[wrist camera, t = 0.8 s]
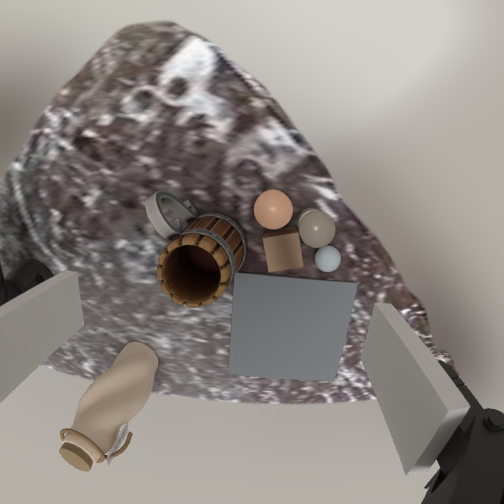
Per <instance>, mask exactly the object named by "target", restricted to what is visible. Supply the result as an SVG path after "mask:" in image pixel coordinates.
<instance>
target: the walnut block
mask: <svg viewBox="0 0 504 504" xmlns="http://www.w3.org/2000/svg"><path fill="white" fill-rule="evenodd" d="M263 243H264V249H265V255H266V260H267V266H268V271H269V272H275V271H281V270H287V269H293V268H300V267H303V260H302V253H301V246H300V239H299V233H298V230H297V228H296V227H289V228H283V229H277V230H271V231H265V232H263Z"/></svg>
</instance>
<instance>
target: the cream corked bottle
mask: <svg viewBox="0 0 504 504" xmlns="http://www.w3.org/2000/svg"><path fill="white" fill-rule="evenodd" d="M157 367H158V358H157V355H156V354H155V352H154V351H153V350H152V349H151V348H150V347H149V346H147V345H145V344H143V343H141V342H130V343H128V344H127V345H126V346H125V347H124V348H123V349H122V351H121V352H120V353H119V355H118V356H117V358H116V359H115V361H114V363H113V365H112V366H111V368H110V369H108V370H107V371H106V372H104V373H103V374H102V375H100V376H99V377H98V378H97V379H96V380H95V381H94V382H93V383H92V384H91V385H90V387H89V388H88V389H87V391H86V392H85V393H84V395H83V396H82V398H81V399H80V402H79V405H78V409H77V412H76V416H75V419H74V422H73V426H72V427H71V428H70V429H62V430H61V432H60V436H61V438H62V447H61V448H60V450H59V452H60V454H61V456H62V457H63V458H64V459H65V460H66V461H67V462H68V463H69V464H71V465H72V466H74V467H75V468H77V469H79V470H82V471H89V470H90V469H91V467H92V466H94V465H95V464H96V463H100V462H103V461H104V459H108V465H109V464H110V462H111V461H112V459H113V457H115V456H118V455H119V454H121V453H122V452H123V451H124V450H125V449H126V448H127V446H128V445H129V443H130V440H131V437H132V433H131V432H129V433H128V436H127V439H126V442H125V444H124V445H123V446H122V448H121V449H119V450H118V448H119V446H120V445H121V442H122V441H123V439H124V438H125V436H126V434H127V428H128V421H129V420H131V419H132V418H133V417H134V416H135V415H136V414H137V413H138V412H139V411H140V410H141V409H142V407H143V406H144V405H145V403H146V401H147V399H148V397H149V395H150V393H151V390H152V387H153V383H154V376H155V372H156V369H157ZM125 423H126V425H125V426H124V428H123V430H122V431H121V433H120V435H119V437H118V434H119V431H120V427H121V426H122V425H123V424H125ZM66 432H68V433H67V434H66V436H65V437H64V433H66ZM117 437H118V438H117ZM111 448H112V449H111ZM110 449H111V450H110ZM109 450H110V452H109V454H108V455H104V454H105V453H107V452H108V451H109ZM117 450H118V451H117ZM100 457H101V458H100ZM99 458H100V459H99Z"/></svg>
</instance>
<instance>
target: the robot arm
mask: <svg viewBox="0 0 504 504" xmlns="http://www.w3.org/2000/svg"><path fill="white" fill-rule="evenodd" d="M83 326H84V319H83V313H82V306H81V299H80V291H79V283H78V274H77V272H73V271H67V270H65V271H63V272H61V273H59V274H57V275H55V276H53V274H52V273H51V272H50V270H49V269H48V268H47V267H46V266H45V265H44V264H43V263H41V262H40V261H38V260H35V259H27V260H24V261H22V262H20V263H18V264H17V265H16V266H15V267H14V268H13V269H12V271H11V272H10V273H9V274H8V275H7V276H6V277H5V279H4V277H3V272H2V268H1V263H0V402H2V401H3V400H4V399H5V398H6V397H7V396H8V395H9V394H10V393H11V392H12V391H13V390H14V389H15V388H16V387H17V386H18V385H19V384H20V383H21V382H22V381H23V380H24V379H26V378H27V377H28V376H29V375H30V374H31V373H32V372H33V371H34V370H35V369H36V368H37V367H38V366H39V365H41V364H42V363H43V362H44V361H45V360H46V359H47V358H48V357H49V356H50V355H51V354H53V353H54V352H55V351H56V350H57V349H58V348H59V347H60V346H61V345H62V344H64V343H65V342H66V341H67V340H68V339H69V338H70V337H71V336H73V335H74V334H75V333H76V332H77V331H78V330H79V329H81V328H82V327H83ZM361 361H362V363H363V366H364V368H365V371H366V373H367V375H368V378H369V380H370V382H371V385H372V387H373V390H374V392H375V395H376V397H377V400H378V402H379V405H380V407H381V410H382V412H383V415H384V417H385V420H386V422H387V425H388V428H389V430H390V433H391V436H392V438H393V441H394V443H395V446H396V449H397V452H398V455H399V457H400V460H401V463H402V466H403V469H404V471H405V474H406V476H409V475H414V474H419V473H423V472H427V471H428V470H429V469H430V467H431V466H432V465H433V463H434V462H435V460H436V459H437V461H438V464H439V466H440V469H439V470H438V471H437V473H436V474H435V475H434V476H433V478H432V479H431V480H430V481H429V482H428V484H427V485H426V486H425V487H424V488H426V489H427V488H428V487H429V486H430V487H429V489H428V491H427V493H426V495H425V498H424V499H423V501H422V503H421V504H504V414H503V413H502V412H500V411H498V410H495V409H490V408H488V409H483V408H482V406H481V405H480V404H479V402H478V401H477V400H476V398H475V397H474V396H473V394H472V393H471V392H470V390H469V389H468V388H467V386H464V383H463V381H462V380H461V379H460V378H459V376H458V375H457V373H456V372H455V371H454V369H453V368H452V367H450V366H449V365H448V364H446V363H445V362H443V361H442V360H438V361H437V360H436V359H435V357H434V356H433V355H432V353H431V352H430V351H429V350H428V348H427V347H426V346H425V345H424V343H423V342H422V341H421V339H420V338H419V337H418V336H417V334H416V333H415V332H414V331H413V330H412V328H411V327H410V326H409V325H408V323H407V322H406V321H405V320H404V319H403V317H402V316H401V315H400V314H399V313H398V311H397V310H396V309H395V308H394V307H393V305H392V304H384V303H375V305H374V309H373V314H372V318H371V322H370V326H369V330H368V334H367V337H366V341H365V345H364V348H363V352H362V356H361Z"/></svg>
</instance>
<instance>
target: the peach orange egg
mask: <svg viewBox="0 0 504 504" xmlns="http://www.w3.org/2000/svg"><path fill="white" fill-rule="evenodd" d="M292 213H293V207H292V203H291V201H290V199H289V198H288V197H287V196H286V194H285V193H283V192H282V191H280V190H278V189H268V190H265V191H264V192H262V193H261V194H260V195H259V197H258V199H257V200H256V202H255V205H254V214H255V217H256V219H257V221H258V222H259V223H260V224H261V225H262V226H264V227H265V228H268V229H279V228H281V227H283V226H285V225H286V224H287V223H288V222H289V221H290V219H291V217H292Z"/></svg>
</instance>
